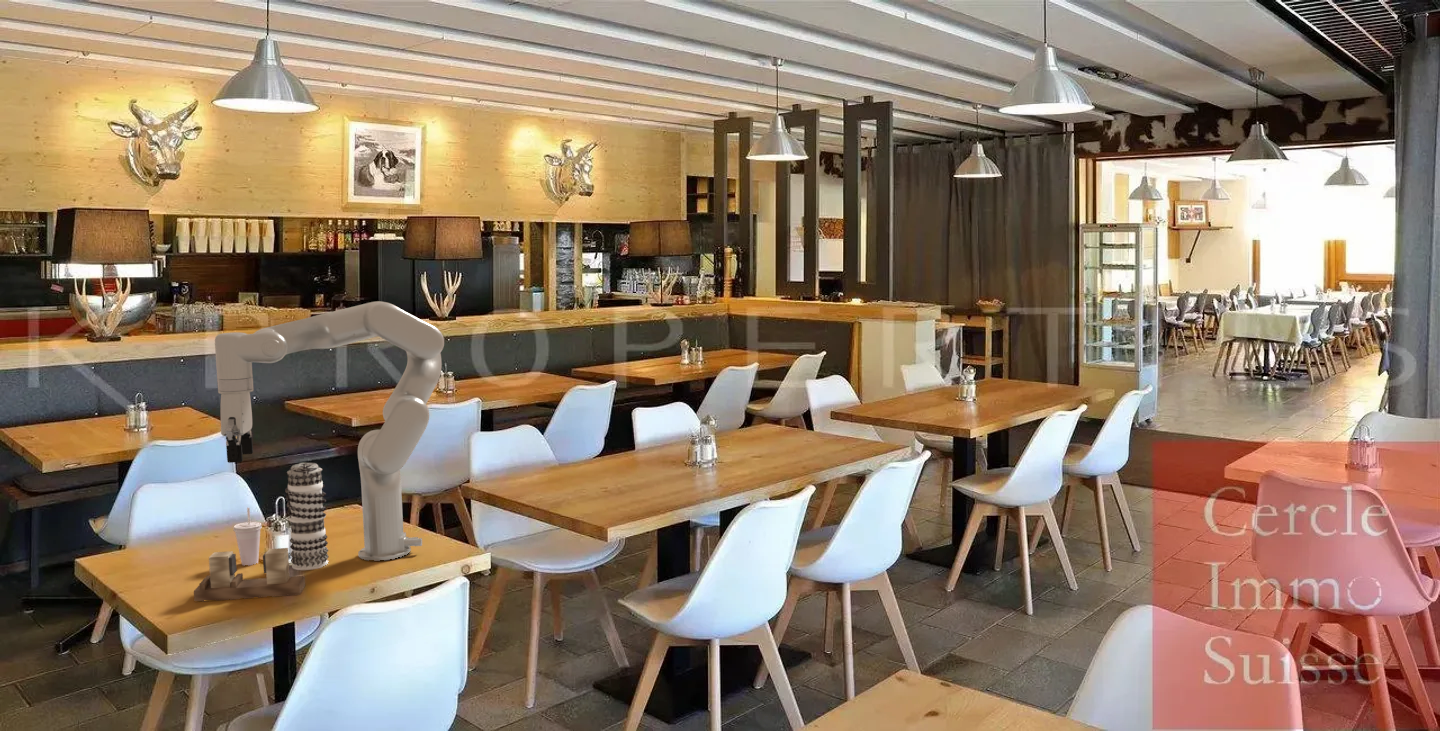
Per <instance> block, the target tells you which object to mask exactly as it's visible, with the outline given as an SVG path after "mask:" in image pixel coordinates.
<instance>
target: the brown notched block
mask: <svg viewBox="0 0 1440 731" xmlns="http://www.w3.org/2000/svg"><path fill="white" fill-rule="evenodd" d="M289 560H290V559H289V548H288V547H282V548H281V547H278V548H269V549H268V550H267V551H265V553H264V554H263V555H262V561H263V566H262V567H263V574H266V577H264V578H262V577H261V578H249V579H244V576H243V573H242V572H239V573H237V574H236V575H235V578H234V579H233V580H232V581H231V587H223V588H211V582H210V575H206V576H205V577H204V578H203V580H202V581H200V583H199V585H197V587H196V588H195V589H194V590H193V597H194V598H193V601H202V602H205V601H204V600H216V601H226V600H229V599H230V600H240V598H244V599H253V598H254V597H258V598H268V597H267V596H272V597H282V596H285V597H286V596H294V595H295V596H297V595H301V594H302V592H303V590H304V589H305V587H306V579H305V575H292V576H291V575H290V574H291V573H290V561H289Z"/></svg>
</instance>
